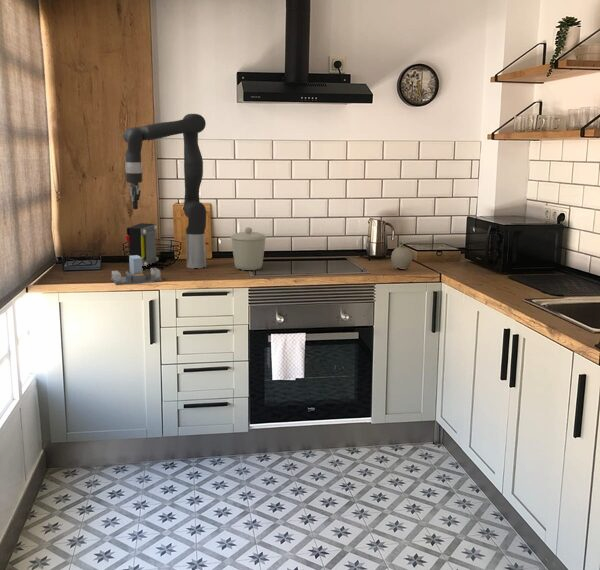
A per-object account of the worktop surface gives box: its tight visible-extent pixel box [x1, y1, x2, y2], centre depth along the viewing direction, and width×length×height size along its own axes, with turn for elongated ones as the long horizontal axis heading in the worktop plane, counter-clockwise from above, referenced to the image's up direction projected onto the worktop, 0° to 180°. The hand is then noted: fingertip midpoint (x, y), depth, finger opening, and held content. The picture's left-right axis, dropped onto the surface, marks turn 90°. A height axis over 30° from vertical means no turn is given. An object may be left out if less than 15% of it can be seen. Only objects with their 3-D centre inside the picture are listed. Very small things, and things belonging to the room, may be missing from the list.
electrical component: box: [125, 222, 159, 267], centre depth 356 cm, size 18×10×20 cm, turn 168°
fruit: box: [390, 241, 413, 269], centre depth 356 cm, size 10×12×15 cm
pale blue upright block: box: [128, 255, 144, 276], centre depth 321 cm, size 8×4×10 cm, turn 26°
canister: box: [229, 226, 268, 271], centre depth 350 cm, size 18×18×21 cm
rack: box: [110, 267, 163, 286], centre depth 322 cm, size 12×21×4 cm, turn 116°
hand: (135, 209), depth 331 cm, fingers closed
